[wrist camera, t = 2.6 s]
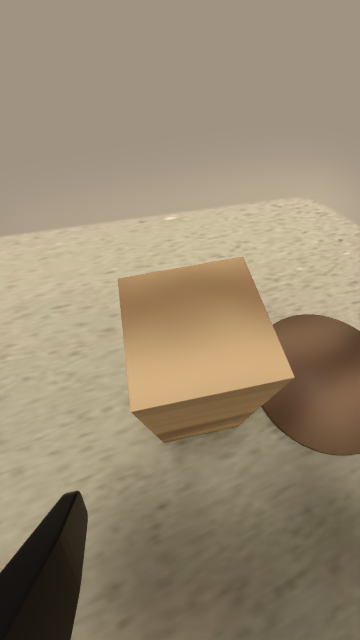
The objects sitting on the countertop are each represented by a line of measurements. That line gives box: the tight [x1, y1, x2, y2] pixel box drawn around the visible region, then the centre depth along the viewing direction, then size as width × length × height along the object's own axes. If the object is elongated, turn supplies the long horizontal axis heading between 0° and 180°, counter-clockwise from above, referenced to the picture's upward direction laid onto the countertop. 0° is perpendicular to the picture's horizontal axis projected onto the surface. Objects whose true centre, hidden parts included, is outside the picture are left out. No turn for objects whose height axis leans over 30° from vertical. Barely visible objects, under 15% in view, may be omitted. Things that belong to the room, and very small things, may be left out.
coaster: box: [261, 315, 360, 455], centre depth 20 cm, size 11×11×1 cm
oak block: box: [118, 257, 295, 443], centre depth 15 cm, size 6×6×12 cm
